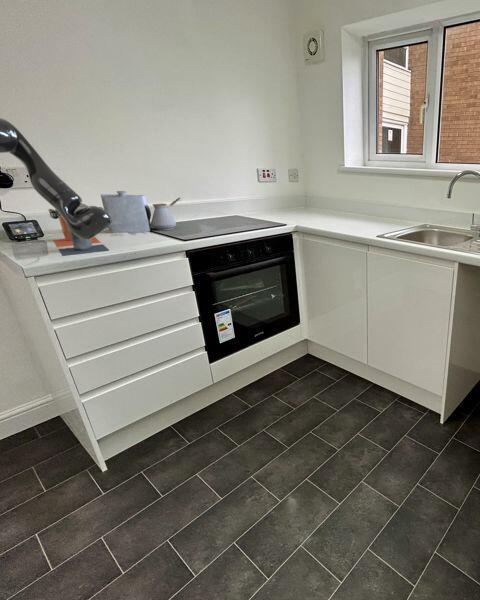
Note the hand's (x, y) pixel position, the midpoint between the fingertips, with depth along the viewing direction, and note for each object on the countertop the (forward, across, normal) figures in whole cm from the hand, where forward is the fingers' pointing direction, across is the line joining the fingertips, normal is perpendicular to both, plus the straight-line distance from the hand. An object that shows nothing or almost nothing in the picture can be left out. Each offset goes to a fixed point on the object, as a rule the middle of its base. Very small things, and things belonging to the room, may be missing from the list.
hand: (75, 210), depth 127 cm
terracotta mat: (+30, 0, +17) cm, 34 cm away
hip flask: (+43, -22, +17) cm, 51 cm away
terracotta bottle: (+35, 0, +17) cm, 39 cm away
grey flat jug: (+52, -24, +17) cm, 60 cm away
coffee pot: (+47, -41, +17) cm, 65 cm away
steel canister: (+11, 0, +16) cm, 20 cm away
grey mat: (+11, 0, +17) cm, 20 cm away
